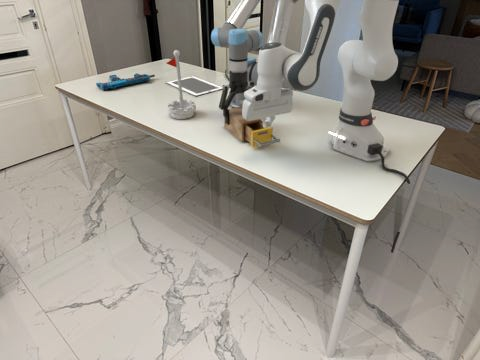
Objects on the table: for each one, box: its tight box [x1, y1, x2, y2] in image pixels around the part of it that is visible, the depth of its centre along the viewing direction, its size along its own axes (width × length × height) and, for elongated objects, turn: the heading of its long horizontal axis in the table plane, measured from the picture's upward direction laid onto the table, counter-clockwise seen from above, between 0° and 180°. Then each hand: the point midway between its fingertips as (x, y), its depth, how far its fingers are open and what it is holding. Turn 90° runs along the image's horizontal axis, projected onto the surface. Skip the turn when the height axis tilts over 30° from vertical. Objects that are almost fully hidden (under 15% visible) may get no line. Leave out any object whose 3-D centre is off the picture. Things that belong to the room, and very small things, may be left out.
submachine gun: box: [95, 73, 156, 91], centre depth 209 cm, size 34×4×25 cm
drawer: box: [244, 122, 281, 148], centre depth 138 cm, size 22×9×6 cm, turn 28°
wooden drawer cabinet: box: [223, 106, 263, 143], centre depth 146 cm, size 17×10×8 cm, turn 28°
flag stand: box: [165, 49, 197, 120], centre depth 157 cm, size 13×13×30 cm
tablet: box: [165, 75, 223, 97], centre depth 203 cm, size 32×20×1 cm, turn 41°
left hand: (238, 121), depth 150 cm, fingers closed on wooden drawer cabinet, 10 cm apart
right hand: (267, 126), depth 129 cm, fingers closed
